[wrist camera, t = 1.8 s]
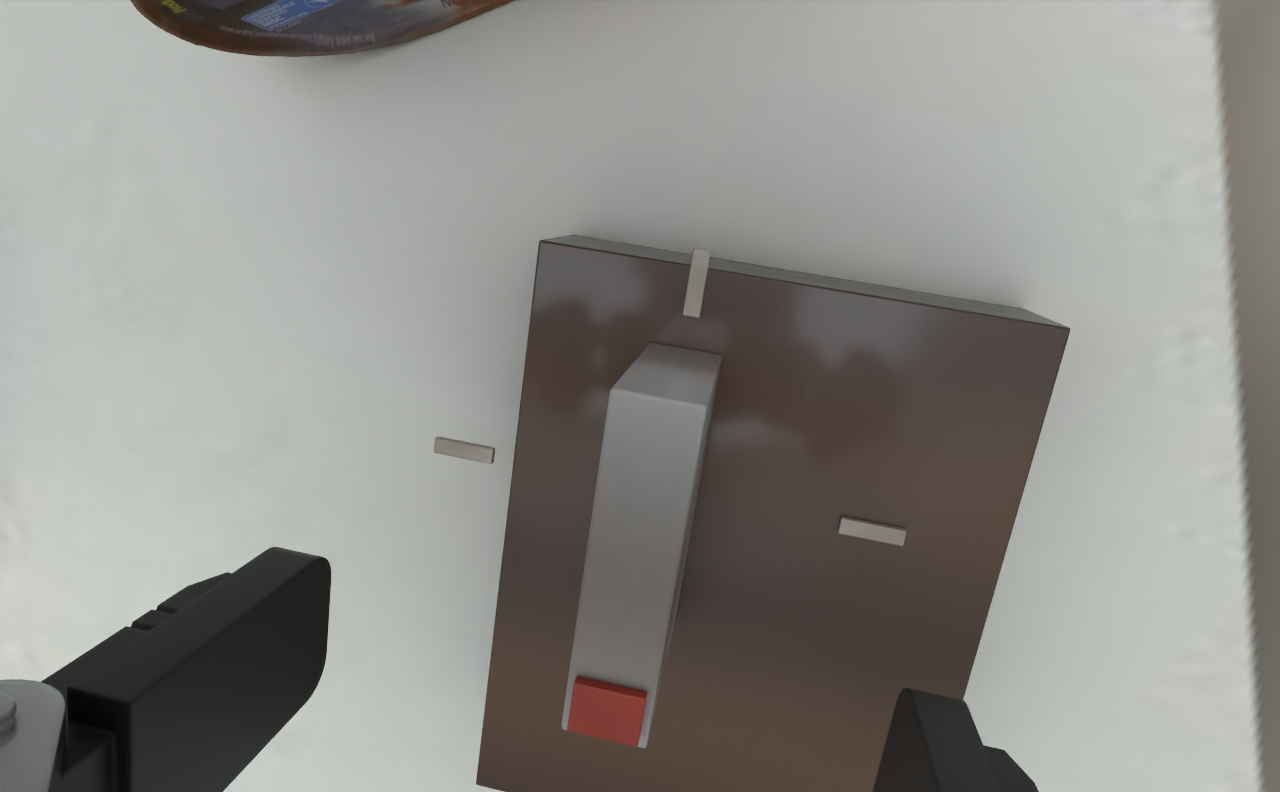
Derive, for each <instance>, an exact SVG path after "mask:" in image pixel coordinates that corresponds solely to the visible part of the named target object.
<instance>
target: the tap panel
mask: <svg viewBox="0 0 1280 792" xmlns="http://www.w3.org/2000/svg"><path fill="white" fill-rule="evenodd" d="M710 255H711V251H707V250H701V249H694V250H693V254H686V253H680V252H674V251H668V250H662V249H656V248H650V247H644V246H638V245H632V244H626V243H620V242H613V241H607V240H601V239H595V238H589V237H583V236H577V235H569V236H563V237H557V238H551V239H545V240H540V241H539V247H538V256H537V265H536V273H535V282H534V290H533V299H532V308H531V316H530V325H529V333H528V342H527V350H526V359H525V368H524V376H523V385H522V393H521V402H520V411H519V419H518V428H517V436H516V445H515V454H514V462H513V471H512V479H511V488H510V496H509V505H508V514H507V522H506V531H505V539H504V548H503V557H502V565H501V574H500V582H499V591H498V599H497V608H496V617H495V625H494V634H493V642H492V651H491V660H490V668H489V677H488V685H487V694H486V703H485V711H484V720H483V728H482V737H481V745H480V754H479V763H478V771H477V780H476V784H477V785H480V786H484V787H488V788H492V789H497V790H501V791H505V792H873V788H874V784H875V780H876V776H877V773H878V769H879V765H880V761H881V757H882V754H883V750H884V746H885V742H886V739H887V735H888V731H889V727H890V724H891V720H892V716H893V712H894V709H895V705H896V702H897V699H898V696H899V694H900V692H901V691H902V689H903V688H911V689H915V690H920V691H924V692H929V693H933V694H938V695H942V696H947V697H951V698H956V699H960V700H963V697H964V694H965V691H966V687H967V684H968V680H969V677H970V673H971V670H972V666H973V663H974V660H975V656H976V653H977V649H978V646H979V642H980V639H981V635H982V632H983V629H984V625H985V622H986V618H987V615H988V611H989V608H990V605H991V601H992V598H993V594H994V591H995V587H996V584H997V580H998V577H999V574H1000V570H1001V567H1002V563H1003V560H1004V556H1005V553H1006V549H1007V546H1008V543H1009V539H1010V536H1011V532H1012V529H1013V525H1014V522H1015V518H1016V515H1017V512H1018V508H1019V505H1020V501H1021V498H1022V494H1023V491H1024V487H1025V484H1026V481H1027V477H1028V474H1029V470H1030V467H1031V463H1032V460H1033V456H1034V453H1035V450H1036V446H1037V443H1038V439H1039V436H1040V432H1041V429H1042V425H1043V422H1044V419H1045V415H1046V412H1047V408H1048V405H1049V401H1050V398H1051V394H1052V391H1053V388H1054V384H1055V381H1056V377H1057V374H1058V370H1059V367H1060V363H1061V360H1062V357H1063V353H1064V350H1065V346H1066V343H1067V339H1068V336H1069V332H1070V328H1068V327H1066V326H1063V325H1061V324H1059V323H1056V322H1054V321H1051V320H1049V319H1047V318H1044V317H1042V316H1040V315H1037V314H1035V313H1032V312H1030V311H1028V310H1025V309H1021V308H1015V307H1009V306H1003V305H996V304H990V303H984V302H978V301H972V300H966V299H960V298H954V297H948V296H942V295H936V294H930V293H924V292H917V291H911V290H905V289H899V288H893V287H887V286H881V285H875V284H869V283H863V282H857V281H851V280H845V279H838V278H832V277H826V276H820V275H814V274H808V273H802V272H796V271H790V270H784V269H778V268H772V267H765V266H759V265H753V264H747V263H741V262H735V261H729V260H723V259H717V258H711V257H710ZM650 343H656V344H662V345H667V346H673V347H679V348H684V349H690V350H696V351H701V352H707V353H712V354H718V355H721V356H722V362H721V368H720V373H719V379H718V385H717V390H716V396H715V401H714V407H713V412H712V418H711V423H710V429H709V434H708V440H707V446H706V451H705V457H704V462H703V468H702V473H701V479H700V484H699V490H698V495H697V501H696V507H695V512H694V518H693V523H692V529H691V534H690V540H689V545H688V551H687V557H686V562H685V568H684V573H683V579H682V584H681V590H680V595H679V601H678V606H677V612H676V618H675V623H674V628H673V632H672V637H671V641H670V646H669V650H668V654H667V659H666V663H665V668H664V672H663V677H662V681H661V686H660V690H659V695H658V699H657V704H656V708H655V712H654V717H653V721H652V726H651V730H650V735H649V739H648V744H647V746H646V747H645V748H640V747H635V746H630V745H626V744H622V743H618V742H613V741H609V740H605V739H601V738H597V737H592V736H588V735H584V734H580V733H575V732H571V731H568V730H564V729H562V718H563V711H564V704H565V697H566V690H567V683H568V677H569V670H570V663H571V656H572V649H573V642H574V635H575V628H576V622H577V615H578V608H579V601H580V594H581V587H582V580H583V573H584V567H585V560H586V553H587V546H588V539H589V532H590V525H591V518H592V511H593V505H594V498H595V491H596V484H597V477H598V470H599V463H600V456H601V450H602V443H603V436H604V429H605V422H606V415H607V408H608V401H609V395H610V390H611V389H612V387H613V386H614V385H615V384H616V383H617V381H618V380H619V379H620V378H621V377H622V375H623V374H624V373H625V372H626V371H627V370H628V368H629V367H630V366H631V365H632V364H633V362H634V361H635V360H636V359H637V358H638V357H639V355H640V354H641V353H642V352H643V351H644V349H645V348H646V347H647V346H648V345H649V344H650ZM434 453H439V454H444V455H449V456H454V457H459V458H464V459H469V460H474V461H479V462H484V463H489V464H492V463H493V462H494V453H495V448H494V447H489V446H484V445H479V444H474V443H469V442H464V441H459V440H453V439H448V438H443V437H436V438H435V445H434Z"/></svg>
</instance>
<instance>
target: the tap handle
mask: <svg viewBox="0 0 1280 792" xmlns="http://www.w3.org/2000/svg"><path fill="white" fill-rule="evenodd" d="M721 362H722V356H721V355H718V354H712V353H707V352H701V351H696V350H690V349H684V348H679V347H673V346H667V345H662V344H656V343H650V344H649V345H648V346H647V347H646V348H645V349H644V351H643V352H642V353H641V354H640V355H639V357H638V358H637V359H636V360H635V361H634V362H633V364H632V365H631V366H630V367H629V368H628V370H627V371H626V372H625V373H624V374H623V375H622V377H621V378H620V379H619V380H618V381H617V383H616V384H615V385H614V386H613V387H612V389H611V390H610V395H609V401H608V408H607V415H606V422H605V429H604V436H603V443H602V450H601V456H600V463H599V470H598V477H597V484H596V491H595V498H594V505H593V511H592V518H591V525H590V532H589V539H588V546H587V553H586V560H585V567H584V573H583V580H582V587H581V594H580V601H579V608H578V615H577V622H576V628H575V635H574V642H573V649H572V656H571V663H570V670H569V677H568V683H567V690H566V697H565V704H564V711H563V718H562V729H564V730H568V731H571V732H575V733H580V734H584V735H588V736H592V737H597V738H601V739H605V740H609V741H613V742H618V743H622V744H626V745H630V746H635V747H640V748H645V747H646V746H647V744H648V739H649V735H650V730H651V726H652V721H653V717H654V712H655V708H656V704H657V699H658V695H659V690H660V686H661V681H662V677H663V672H664V668H665V663H666V659H667V654H668V650H669V646H670V641H671V637H672V632H673V628H674V623H675V618H676V612H677V606H678V601H679V595H680V590H681V584H682V579H683V573H684V568H685V562H686V557H687V551H688V545H689V540H690V534H691V529H692V523H693V518H694V512H695V507H696V501H697V495H698V490H699V484H700V479H701V473H702V468H703V462H704V457H705V451H706V446H707V440H708V434H709V429H710V423H711V418H712V412H713V407H714V401H715V396H716V390H717V385H718V379H719V373H720V368H721Z"/></svg>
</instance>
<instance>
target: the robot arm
mask: <svg viewBox="0 0 1280 792" xmlns="http://www.w3.org/2000/svg"><path fill="white" fill-rule="evenodd" d="M330 587H331V567H330V564H329V562H328V560H327V559H326V558H324V557H320V556H315V555H311V554H306V553H302V552H297V551H293V550H288V549H283V548H279V547H272V548H269V549H268V550H266V551H264V552H263V553H262V554H260V555H259V556H257V557H256V558H254V559H253V560H251V561H250V562H248V563H247V564H245V565H244V566H243V567H241V568H240V569H238V570H237V571H235V572H234V573H232V574H231V573H224V574H221V575H218V576H215V577H213V578H210V579H207V580H204V581H201V582H198V583H195V584H192V585H190V586H187V587H186V588H184V589H183V590H181V591H179V592H178V593H176V594H175V595H173V596H172V597H170V598H169V599H167V600H166V601H164V602H163V603H161V604H160V605H158V607H157V609H156V611H155V610H150V611H149V612H147V613H146V614H144V615H143V616H141V617H140V618H138V619H137V620H135V621H134V622H133V623H132V626H131V627H127V626H126V627H124V628H123V629H121V630H120V631H118V632H117V633H115V634H114V635H112V636H111V637H109V638H108V639H106V640H104V641H103V642H101V643H100V644H98V645H97V646H95V647H94V648H92V649H91V650H89V651H88V652H86V653H85V654H83V655H81V656H80V657H78V658H77V659H75V660H74V661H72V662H71V663H69V664H68V665H66V666H65V667H63V668H62V669H60V670H59V671H57V672H55V673H54V674H52V675H51V676H49V677H48V678H46V679H45V680H43V681H42V682H37V681H31V680H0V792H223V791H224V790H225V789H226V788H227V787H228V785H229V784H230V783H231V782H232V781H233V780H234V779H235V778H236V777H237V776H238V775H239V774H240V773H241V772H242V770H243V769H244V768H245V767H246V766H247V765H248V764H249V763H250V762H251V761H252V760H253V759H254V758H255V757H256V755H257V754H258V753H259V752H260V751H261V750H262V749H263V748H264V747H265V746H266V745H267V744H268V743H269V742H270V740H271V739H272V738H273V737H274V736H275V735H276V734H277V733H278V732H279V731H280V730H281V729H282V728H283V727H284V725H285V724H286V723H287V722H288V721H289V720H290V719H291V718H292V717H293V716H294V715H295V714H296V713H297V712H298V711H299V709H300V708H301V707H302V706H303V705H304V704H305V703H306V702H307V701H308V699H309V698H310V697H311V695H312V694H313V692H314V690H315V689H316V687H317V685H318V683H319V680H320V678H321V675H322V672H323V669H324V665H325V660H326V653H327V637H328V621H329V604H330ZM873 792H1038V790H1037V787H1036V785H1035V783H1034V782H1033V781H1032V780H1031V779H1030V778H1029V776H1028V775H1027V774H1026V773H1025V772H1024V771H1023V770H1022V769H1021V768H1020V767H1019V766H1018V765H1017V764H1016V763H1015V761H1014V760H1013V759H1012V758H1011V757H1010V756H1009V755H1008V754H1007V753H1006V752H1005V751H1004V750H1001V749H997V748H992V747H988V746H983V744H982V742H981V739H980V736H979V734H978V731H977V729H976V726H975V724H974V721H973V719H972V716H971V714H970V711H969V709H968V706H967V704H966V703H965V702H964V701H963V700H960V699H956V698H951V697H947V696H942V695H938V694H933V693H929V692H924V691H920V690H915V689H911V688H903V689H902V691H901V692H900V694H899V696H898V699H897V702H896V705H895V709H894V712H893V716H892V720H891V724H890V727H889V731H888V735H887V739H886V742H885V746H884V750H883V754H882V757H881V761H880V765H879V769H878V773H877V776H876V780H875V784H874V788H873Z"/></svg>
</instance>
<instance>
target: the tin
mask: <svg viewBox="0 0 1280 792" xmlns="http://www.w3.org/2000/svg"><path fill="white" fill-rule="evenodd" d="M508 1H511V0H131V2H132V3H133V5H134V6H135V7H136V9H137V10H138V11H139V12H140V13H141V14H142V15H143V16H144V17H146V18H147V19H148V20H149V21H151V22H152V23H153V24H154V25H156V26H158V27H159V28H161V29H163V30H164V31H166V32H168V33H170V34H172V35H174V36H176V37H178V38H180V39H183V40H186V41H188V42H191V43H193V44H196V45H200V46H206V47H208V48H212V49H216V50H220V51H225V52H231V53H238V54H247V55H255V56H286V57H302V56H325V55H339V54H349V53H356V52H362V51H367V50H372V49H377V48H381V47H386V46H391V45H394V44H398V43H402V42H405V41H409V40H412V39H415V38H418V37H421V36H423V35H427V34H431V33H434V32H436V31H439V30H442V29H444V28H446V27H449V26H451V25H454V24H456V23H459V22H461V21H464V20H466V19H469V18H471V17H473V16H475V15H478V14H480V13H482V12H485V11H487V10H490V9H492V8H494V7H497V6H499V5H501V4H504V3H506V2H508Z"/></svg>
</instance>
